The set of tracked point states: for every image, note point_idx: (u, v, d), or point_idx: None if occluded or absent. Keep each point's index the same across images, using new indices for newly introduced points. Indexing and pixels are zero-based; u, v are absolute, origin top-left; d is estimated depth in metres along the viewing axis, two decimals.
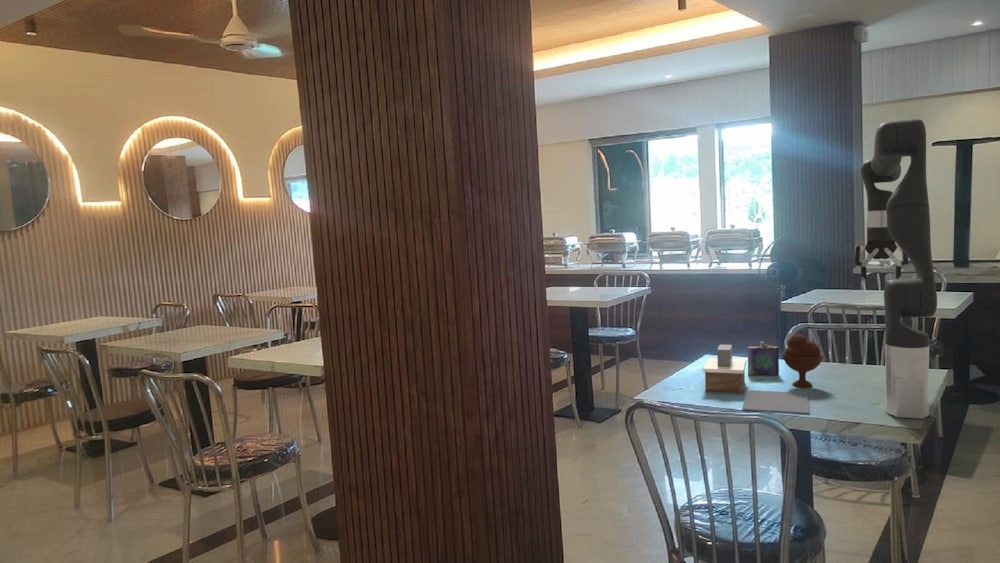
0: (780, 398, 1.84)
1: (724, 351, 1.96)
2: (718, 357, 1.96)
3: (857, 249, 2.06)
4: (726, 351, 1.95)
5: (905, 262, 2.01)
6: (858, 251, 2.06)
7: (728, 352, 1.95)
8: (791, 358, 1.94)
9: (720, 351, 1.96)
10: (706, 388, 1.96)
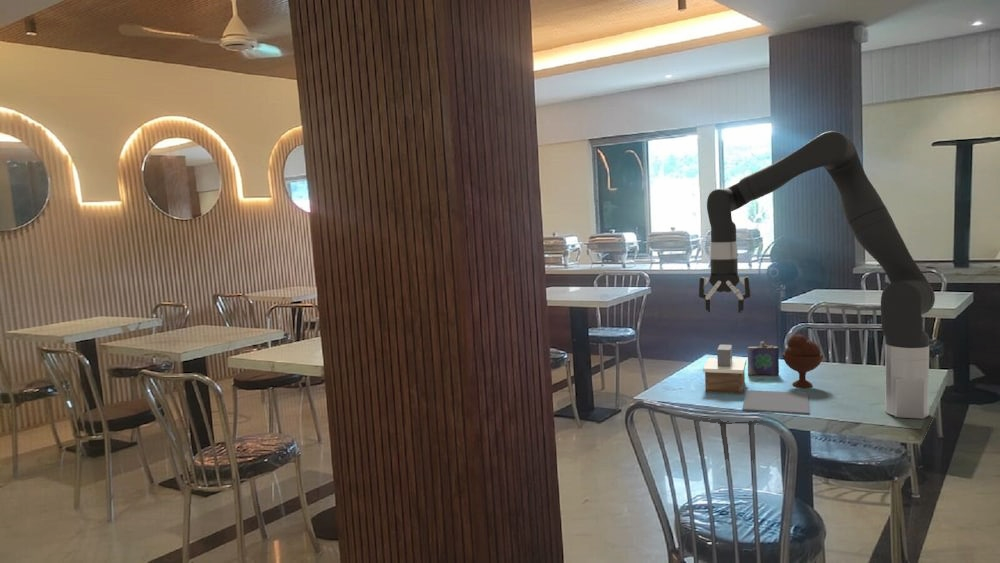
0: (780, 398, 1.84)
1: (724, 351, 1.96)
2: (718, 357, 1.96)
3: (701, 281, 1.99)
4: (726, 351, 1.95)
5: (747, 296, 1.95)
6: (702, 283, 1.99)
7: (728, 352, 1.95)
8: (791, 358, 1.94)
9: (720, 351, 1.96)
10: (706, 388, 1.96)
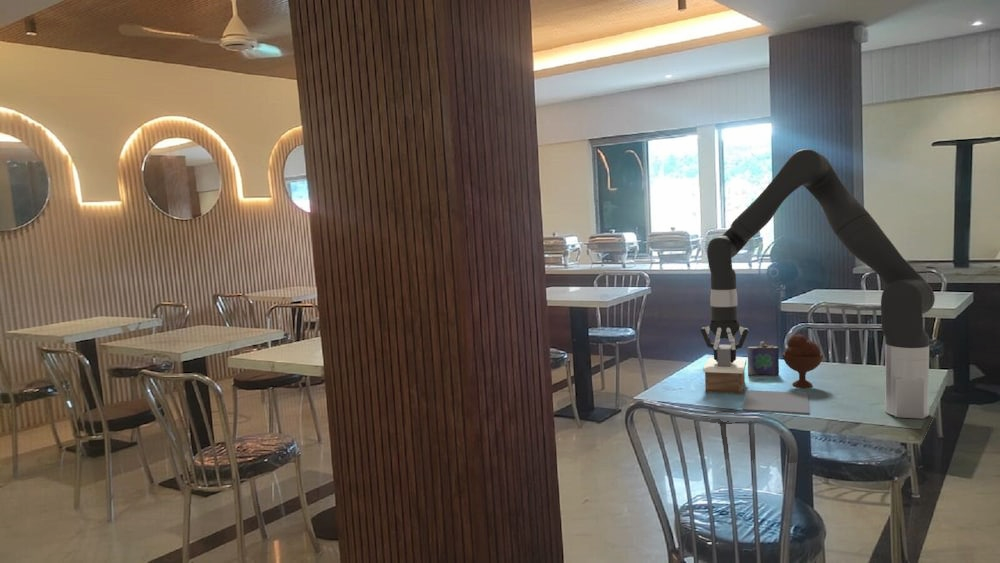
0: (780, 398, 1.84)
1: (724, 351, 1.96)
2: (718, 357, 1.96)
3: (703, 332, 2.00)
4: (726, 351, 1.95)
5: (739, 346, 1.97)
6: (705, 333, 2.00)
7: (728, 352, 1.95)
8: (791, 358, 1.94)
9: (720, 351, 1.96)
10: (706, 388, 1.96)
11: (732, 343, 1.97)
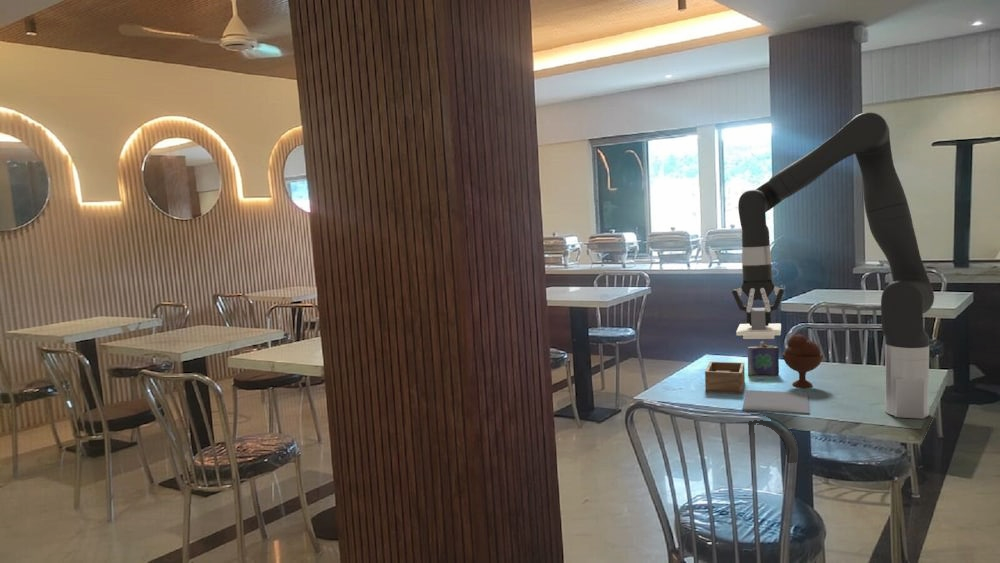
0: (780, 398, 1.84)
1: (758, 313, 1.82)
2: (752, 319, 1.83)
3: (734, 294, 1.87)
4: (761, 313, 1.82)
5: (774, 307, 1.83)
6: (736, 295, 1.86)
7: (763, 314, 1.82)
8: (791, 358, 1.94)
9: (754, 313, 1.82)
10: (706, 388, 1.96)
11: (767, 304, 1.84)
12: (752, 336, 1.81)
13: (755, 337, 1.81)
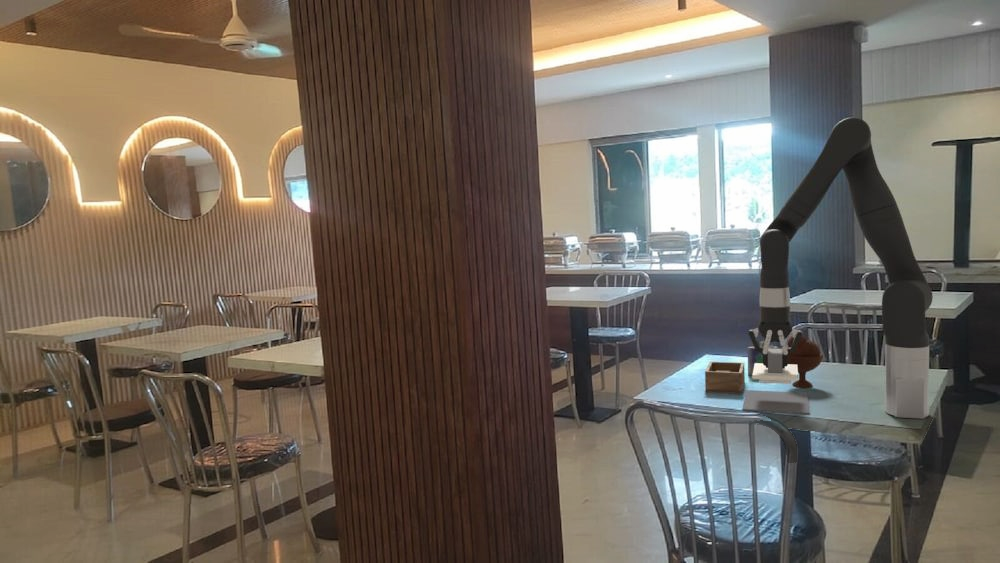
0: (780, 398, 1.84)
1: (775, 356, 1.77)
2: (769, 362, 1.78)
3: (751, 335, 1.82)
4: (778, 356, 1.77)
5: (791, 350, 1.78)
6: (753, 336, 1.82)
7: (780, 357, 1.77)
8: (791, 358, 1.94)
9: (771, 356, 1.78)
10: (706, 388, 1.96)
11: (784, 347, 1.79)
12: (768, 380, 1.77)
13: (771, 381, 1.76)
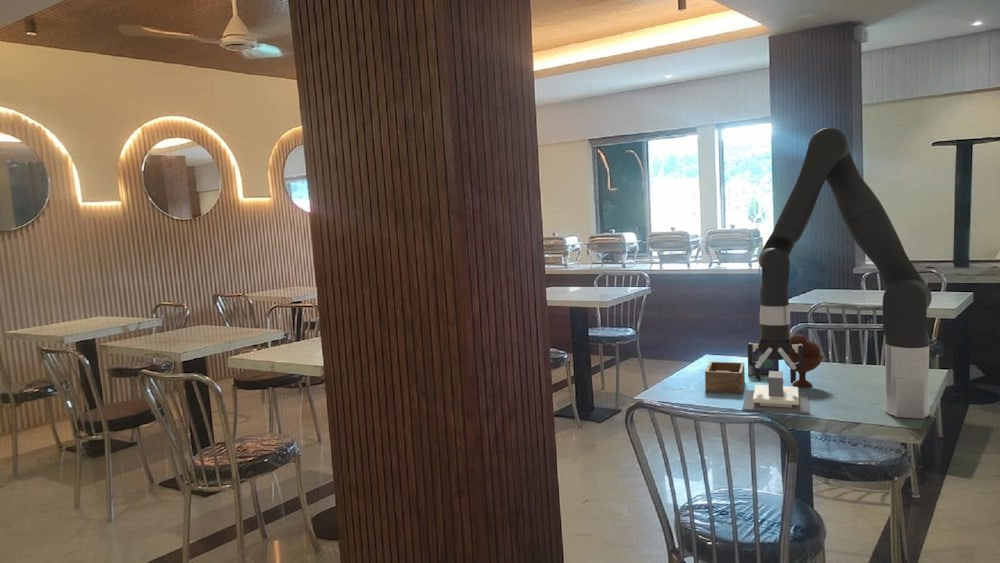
0: None
1: (776, 379, 1.78)
2: (769, 386, 1.78)
3: (749, 348, 1.82)
4: (778, 379, 1.77)
5: (800, 365, 1.78)
6: (750, 350, 1.82)
7: (781, 380, 1.77)
8: (791, 358, 1.94)
9: (772, 379, 1.78)
10: (706, 388, 1.96)
11: (790, 362, 1.79)
12: (769, 403, 1.77)
13: (772, 404, 1.77)
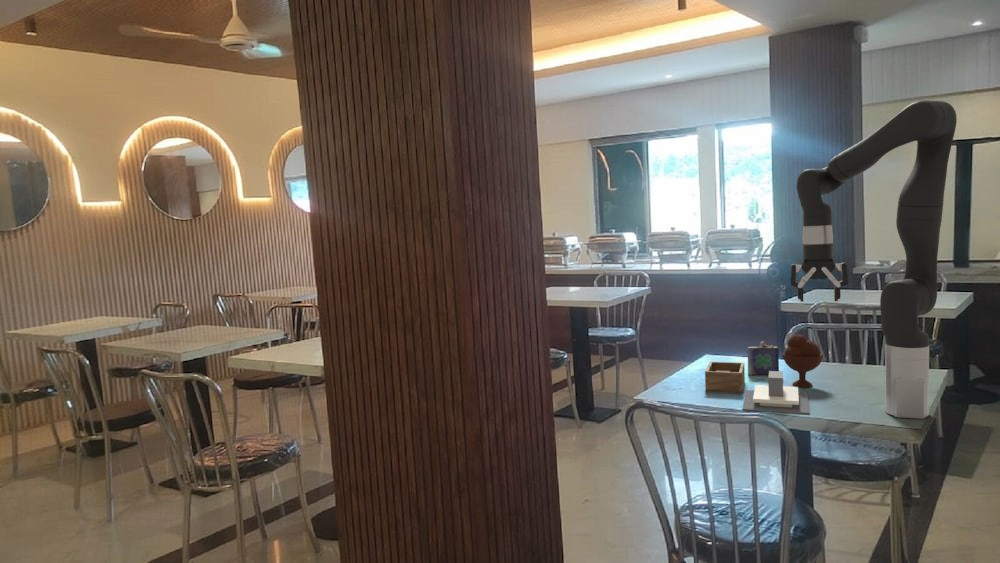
0: None
1: (776, 379, 1.78)
2: (769, 386, 1.78)
3: (793, 268, 1.86)
4: (778, 379, 1.77)
5: (844, 283, 1.82)
6: (794, 270, 1.86)
7: (781, 380, 1.77)
8: (791, 358, 1.94)
9: (772, 379, 1.78)
10: (706, 388, 1.96)
11: (834, 281, 1.83)
12: (769, 403, 1.77)
13: (772, 404, 1.77)
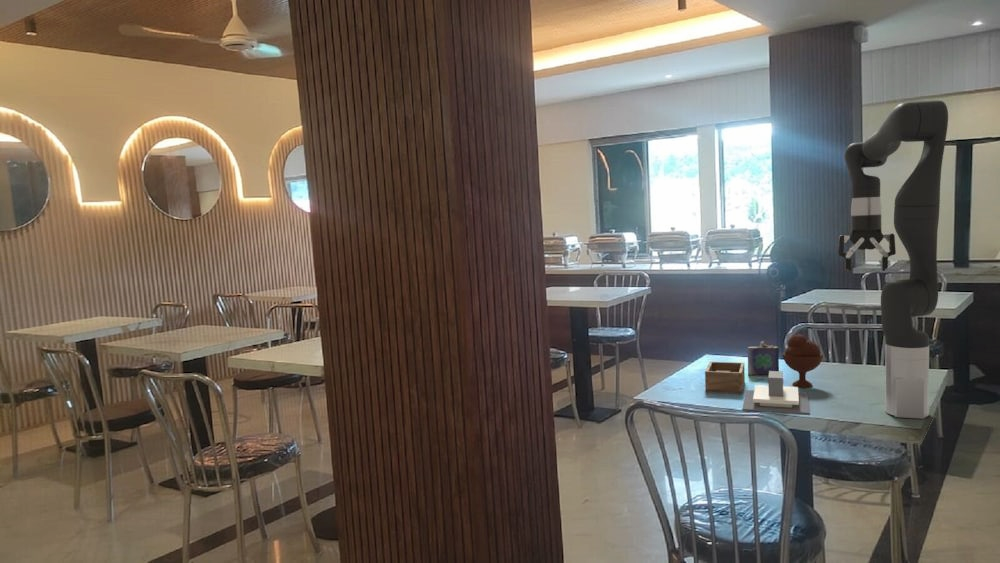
0: None
1: (776, 379, 1.78)
2: (769, 386, 1.78)
3: (841, 239, 1.92)
4: (778, 379, 1.77)
5: (892, 253, 1.88)
6: (842, 241, 1.92)
7: (781, 380, 1.77)
8: (791, 358, 1.94)
9: (772, 379, 1.78)
10: (706, 388, 1.96)
11: (882, 251, 1.89)
12: (769, 403, 1.77)
13: (772, 404, 1.77)
